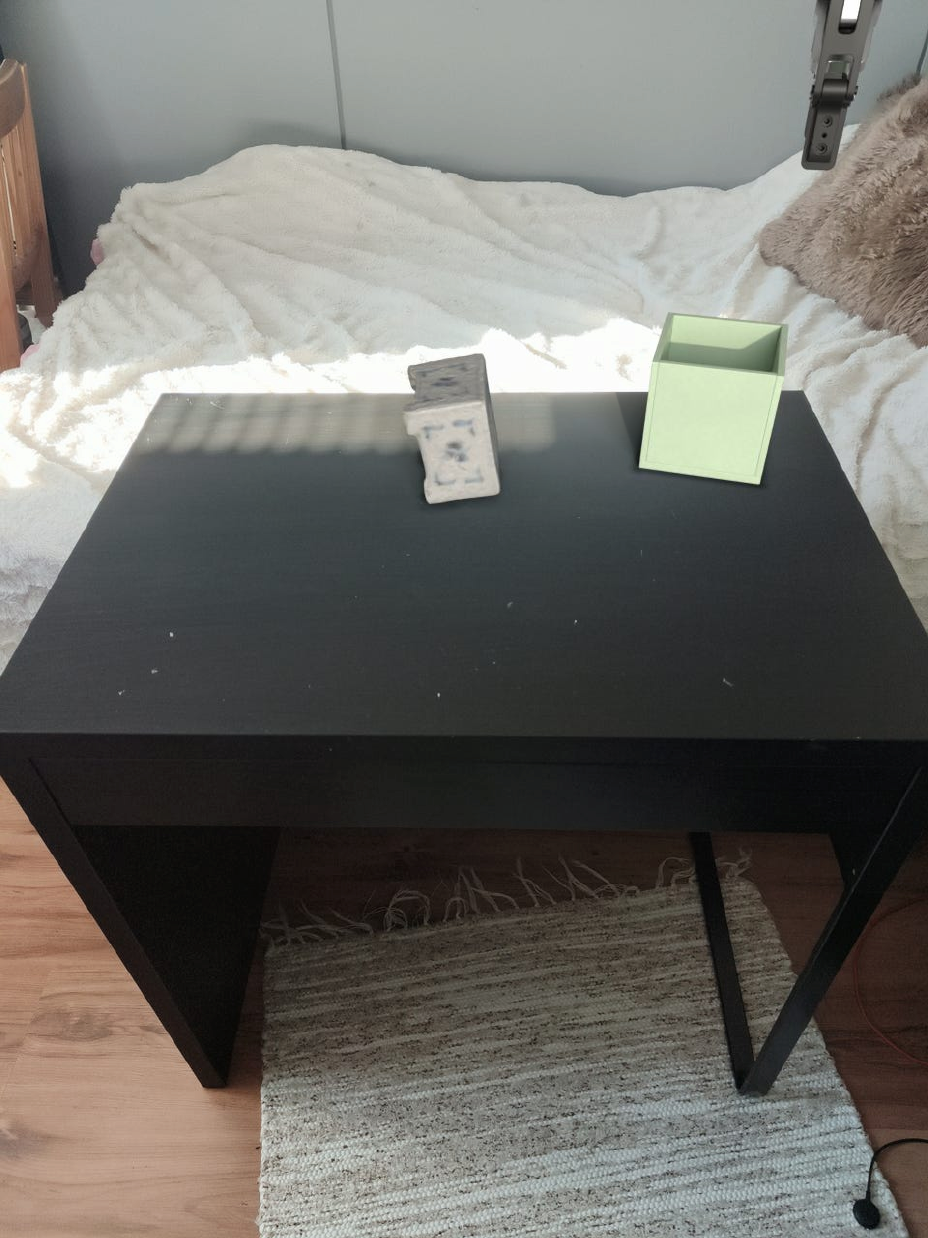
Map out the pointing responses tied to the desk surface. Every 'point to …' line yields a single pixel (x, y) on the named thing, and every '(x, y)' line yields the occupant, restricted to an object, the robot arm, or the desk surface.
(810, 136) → the robot arm
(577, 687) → the desk surface
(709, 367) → the waste bin
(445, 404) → the incense holder
